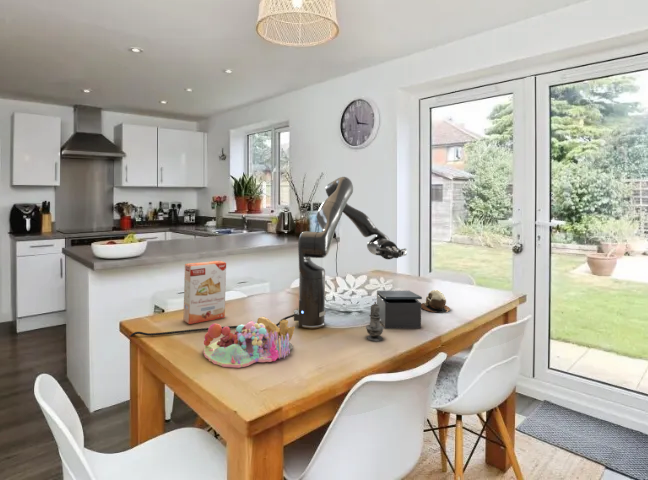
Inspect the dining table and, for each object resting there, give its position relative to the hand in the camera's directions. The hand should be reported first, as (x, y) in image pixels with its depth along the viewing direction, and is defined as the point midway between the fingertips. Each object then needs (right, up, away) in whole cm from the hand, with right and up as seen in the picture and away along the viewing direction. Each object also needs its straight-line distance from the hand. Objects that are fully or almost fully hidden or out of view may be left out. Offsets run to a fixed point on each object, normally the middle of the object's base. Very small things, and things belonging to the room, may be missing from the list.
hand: (396, 255), depth 155 cm
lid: (0, -14, -3) cm, 15 cm away
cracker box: (-71, -23, -4) cm, 75 cm away
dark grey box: (0, -24, -3) cm, 24 cm away
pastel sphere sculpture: (-49, -23, -33) cm, 64 cm away
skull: (+19, -25, +15) cm, 34 cm away
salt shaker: (-11, -24, -21) cm, 34 cm away
